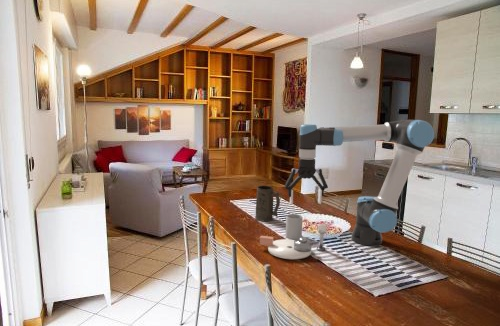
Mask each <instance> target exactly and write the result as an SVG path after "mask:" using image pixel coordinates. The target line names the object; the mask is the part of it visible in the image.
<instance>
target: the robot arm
mask: <svg viewBox="0 0 500 326" xmlns="http://www.w3.org/2000/svg"><path fill="white" fill-rule="evenodd" d="M299 128H300V129H299V146H298V147H299V149H298V151H299V152H298V158H299V159H298V168H291V170H290V171H291V172H290V174H289V177H288V178H287V180H286V181H285V184H284V186H283V187H284V189H285V190H287V196H288V197H289V204H290V205H293V203H294V190H293V188H295V186H296V185H297V184H298V183H299V182H300V181H301V180H302V179H309V180H310V179H312V180H313V181H314V182H315V184H316V185H317V186H318V190H317V191H318V193H317V203H318V204H320V205H321V204H322V197H324V195H325V194H324V191H325V190H326V189H328V188H329V187H328V184H327V182H326V178H325V177H324V175H323V169H322V168H320V167H318V168H316V159H315V158H316V157H317V156H316V154H317V151H316V150H317V146H332V147H333V146H334V147H337V146H342V144H344V143H346V142H347V143H351V142H370V141H385V143H386V142H392V143H394V142H395V143H396V147H397V150H396V153H395V154H394V157H393V160H392V163H391V165H390V167H389V169H388V172H387V174H386V177H385V179H384V181H383V184H382V186H381V189H380V191H379V193H378V195H377V196H368V195H367V196H359V197H358V198H357V202H356V205H357V206H356V219H355V226H354V227H353V230H352V232H351V237H350V238H351V241H353V242H354V243H356V244H360V245H362V246H363V245H364V246H369V247H370V246H372V247H373V246H375V247H376V246H379V245H382V244H383V236H382V233H383V234H384V233H388V232H390V231H392V230H394V229H395V228H396V226H397V225H398V224H397V223H398V217H397V212H398V210H399V206H398V201H399V198H400V196H401V194H402V192H403V189H404V187H405V184H406V182H407V180H408V178H409V175H410V172H411V170H412V169H413V166H414V163H415V161H416V158H417V157H418V155H421V154H422V153H423V152H424V149H425V147H427V146H429V145H430V144H431V143H432V142H433V140H434V139H435V130H434V129H433V126H432V124H431V123H430V122H428V121H425V120H423V119H401V120H395V121H389V122H388V121H386V122H384V124H368V125H350V126H349V125H348V126H332V127H322V126H321V127H319V128H318V125H316V124H312V123H311V124H310V123H309V124H301V125H300V127H299ZM297 173H298V174H297ZM315 173H317V174H318V177H319V179H320V181H321V182H320V181H319V180H318V178H317V177H316V176H315ZM296 174H297V176H296V178H295V179H294V177H295V175H296Z"/></svg>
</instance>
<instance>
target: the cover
mask: <svg viewBox="0 0 500 326" xmlns="http://www.w3.org/2000/svg"><path fill="white" fill-rule="evenodd" d="M293 240H294V249H295V250H296V251H299V252H309V251H311V252H312V246H313V245H312V244H313V243H312V240H310V239H308V237H305V236H302V237H300V238H299V239H293Z"/></svg>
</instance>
